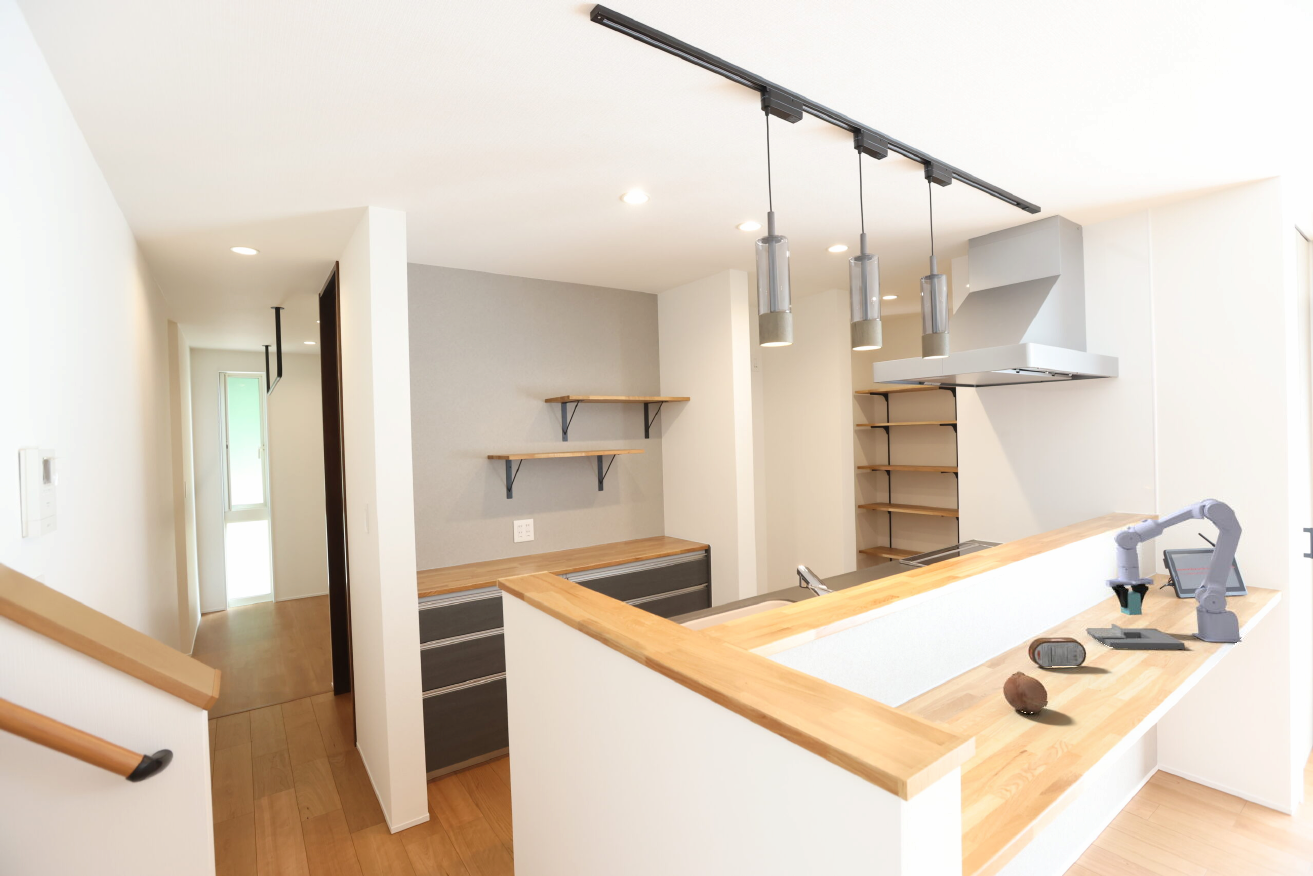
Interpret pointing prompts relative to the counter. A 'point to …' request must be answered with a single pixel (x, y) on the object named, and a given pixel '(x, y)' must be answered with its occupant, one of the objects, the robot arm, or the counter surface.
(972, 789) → the counter surface
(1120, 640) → the socket plate
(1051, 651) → the tin
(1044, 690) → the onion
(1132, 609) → the plug
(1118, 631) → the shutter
